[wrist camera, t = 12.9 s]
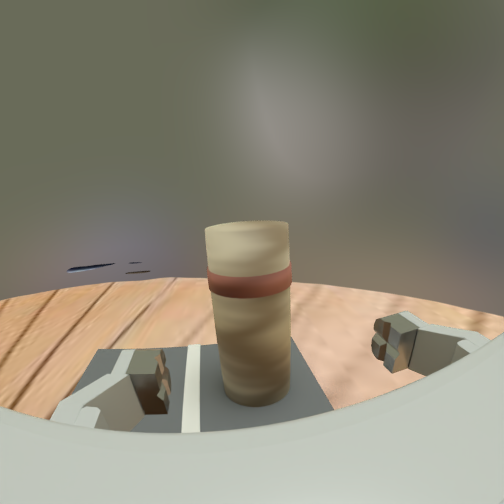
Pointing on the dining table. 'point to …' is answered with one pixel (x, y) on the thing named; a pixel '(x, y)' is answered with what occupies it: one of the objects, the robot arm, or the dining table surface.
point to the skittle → (251, 308)
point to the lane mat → (215, 393)
